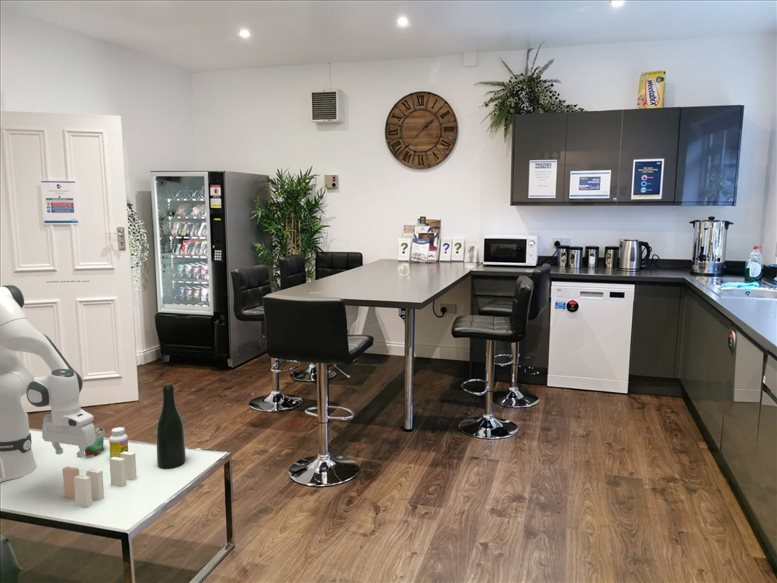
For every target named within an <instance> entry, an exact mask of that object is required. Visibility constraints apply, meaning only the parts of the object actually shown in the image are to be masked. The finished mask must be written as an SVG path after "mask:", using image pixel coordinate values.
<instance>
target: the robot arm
mask: <svg viewBox="0 0 777 583" xmlns="http://www.w3.org/2000/svg"><path fill="white" fill-rule="evenodd" d="M24 305H25V297H24V295H23V293H22V291H21V289H20V288H18V287H17V286H15V285H12V284H5V285H2V286H0V483H2V482H5V481H11V480H16V479H20V478H22V477H26V476H28V475H30V474H32V473H34V472H35V471H36V470H37V467H38V466H37V464H36V461H35V458H34V454H33V450H32V433H31V432H30V423H29V421H30V420H29V414H28V412H26V411H25V409H24V407H23V404H22V401H21V398H22V396H24V395H25V394H26V398H27V401H28V402H29V403H30V404H31V405H32V406H34V407H37V408H43V407H47V406H49V407H50V413H51V414H50V413H49V414H48V413H47V414H45V415H44V417H43V418H42V419H43V421H42V422H43V423H42V428H41V429H42V430H41V434H42V436H41V437H42V439H43V441H44V442H49V443H51V445H52V447H53V448H54V450H55V454H56V455H62V454H63V453H64V448H63V447H62V446H61V445H60V444H64V445H70V446H77V447H78V449H79V450H78V452H76V457H77V458H84V457H85V449H86V447H88V446H90V445H92V444H94V443H95V441H96V435H95V427H96V426H95V425H94V423H93V421H94V420H95V419H94V415H93V414H91V413H90V412H87V411H85V410H84V409H83V408H81V407H82V406H81V403H80V394H81V391H82V389H83V385H84V384H83V379H82V376H80V374H79V373H78V372H77V371H76V369H74V368H73V367H72V366H71V365H70V363H69V362H68V361H67V360H66V358H65V357H64V356H63V354H62V352H60V350H59V348H57V346H56V345H55V344H54V342H53V341H52V340H51V339H50V338H49V336H48V335H46V334H44V333H42V332H40V331H39V330H38V329H36V327H35V326H34V325H33V324H32V323H31V321H30V320H29V318H28V316H27V314H26V313H25V311H24V310H23V307H24ZM16 352H21V353H23V352H25V353H31V354H34V355H37V356H39V357H40V358H41V359H42V360H43V361H44V362H45V364H46V365H47V366H48V368H49V369H50V370H51V371H50V372H49V374H47V375H46V376H43V377H41V378H37V379H35V377H34V374H33V372H32V371H31V370H30V369H29V368H26V367H25V365H24V364H23V362H22V361H21V359H20V358H19V357H18V355H17V353H16ZM94 426H95V427H94Z"/></svg>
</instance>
